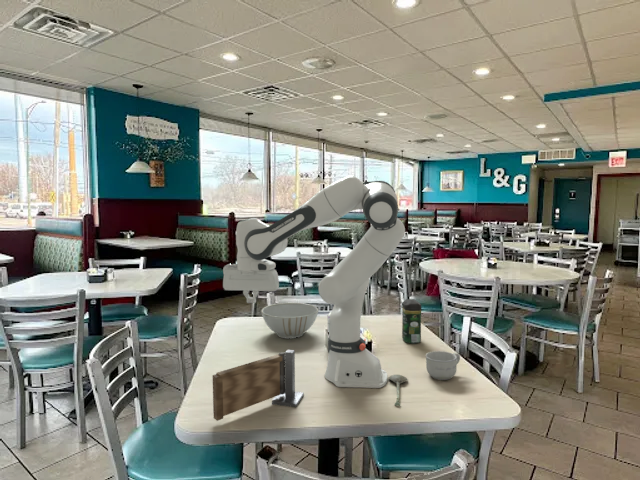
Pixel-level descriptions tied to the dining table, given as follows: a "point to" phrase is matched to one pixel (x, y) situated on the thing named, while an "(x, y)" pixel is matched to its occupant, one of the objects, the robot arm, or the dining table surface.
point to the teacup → (442, 364)
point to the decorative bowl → (289, 318)
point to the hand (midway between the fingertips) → (251, 302)
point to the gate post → (289, 383)
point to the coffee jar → (411, 321)
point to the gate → (248, 385)
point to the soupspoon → (398, 380)
